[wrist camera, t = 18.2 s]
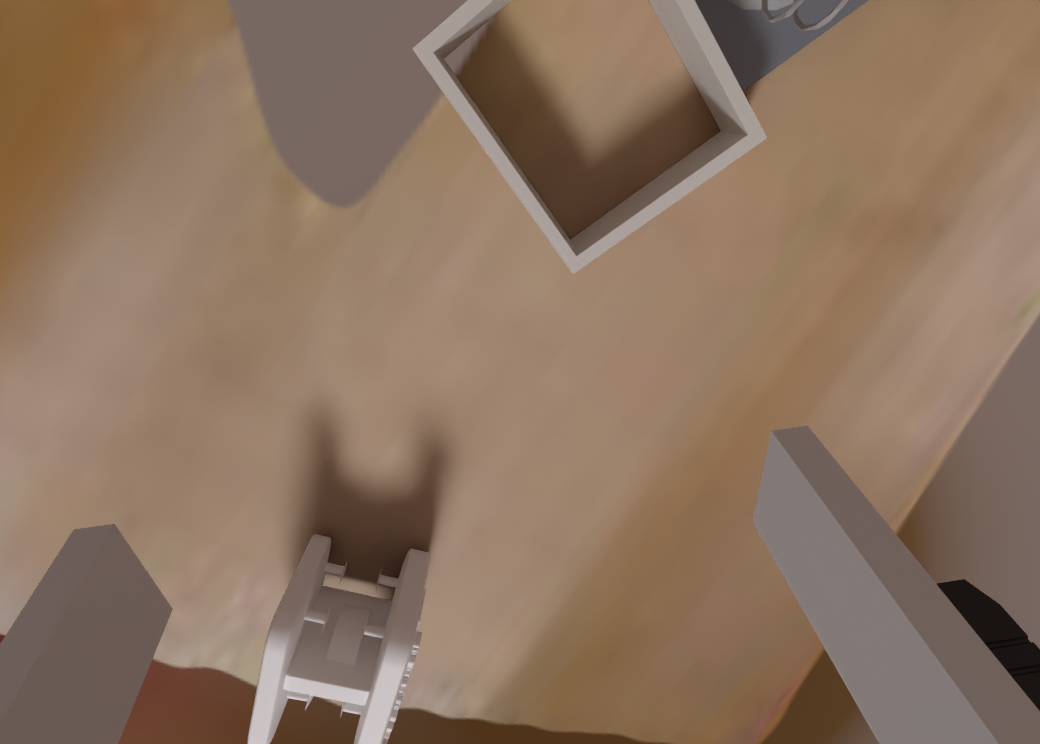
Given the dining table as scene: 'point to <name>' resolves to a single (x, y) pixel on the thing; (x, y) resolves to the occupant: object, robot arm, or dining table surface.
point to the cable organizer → (341, 645)
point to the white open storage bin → (734, 140)
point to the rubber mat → (765, 34)
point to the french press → (779, 0)
